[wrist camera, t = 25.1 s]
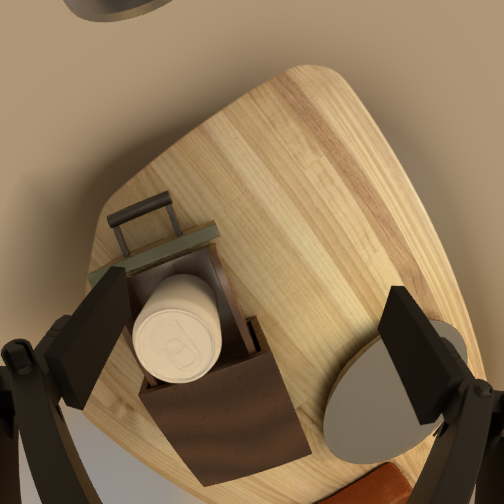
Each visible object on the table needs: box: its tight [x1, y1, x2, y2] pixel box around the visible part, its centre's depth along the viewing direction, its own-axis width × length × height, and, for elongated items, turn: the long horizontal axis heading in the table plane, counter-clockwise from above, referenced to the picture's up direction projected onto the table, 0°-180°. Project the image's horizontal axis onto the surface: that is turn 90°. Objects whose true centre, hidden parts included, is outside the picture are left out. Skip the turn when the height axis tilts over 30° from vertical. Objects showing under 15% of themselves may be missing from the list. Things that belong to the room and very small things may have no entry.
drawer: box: [87, 190, 258, 388], centre depth 34 cm, size 20×14×9 cm
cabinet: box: [138, 316, 312, 487], centre depth 37 cm, size 17×15×11 cm
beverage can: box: [132, 274, 222, 383], centre depth 31 cm, size 8×8×12 cm
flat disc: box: [323, 320, 467, 464], centre depth 44 cm, size 28×28×4 cm
